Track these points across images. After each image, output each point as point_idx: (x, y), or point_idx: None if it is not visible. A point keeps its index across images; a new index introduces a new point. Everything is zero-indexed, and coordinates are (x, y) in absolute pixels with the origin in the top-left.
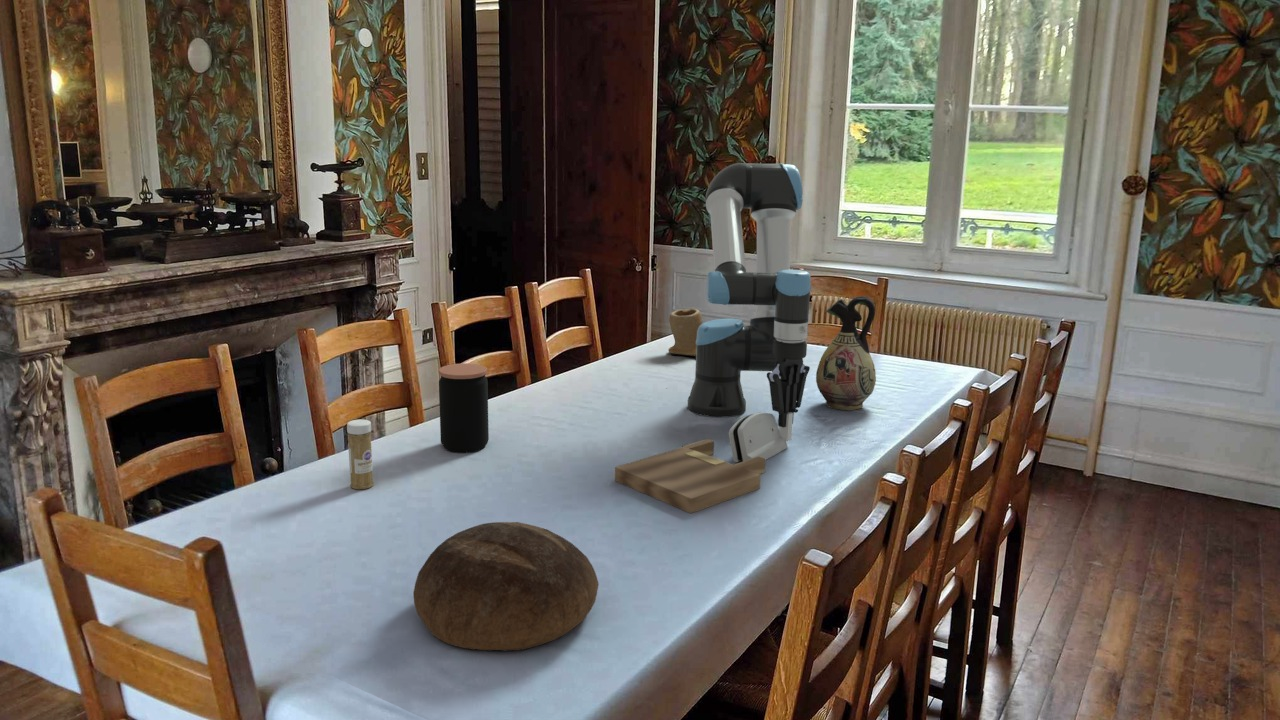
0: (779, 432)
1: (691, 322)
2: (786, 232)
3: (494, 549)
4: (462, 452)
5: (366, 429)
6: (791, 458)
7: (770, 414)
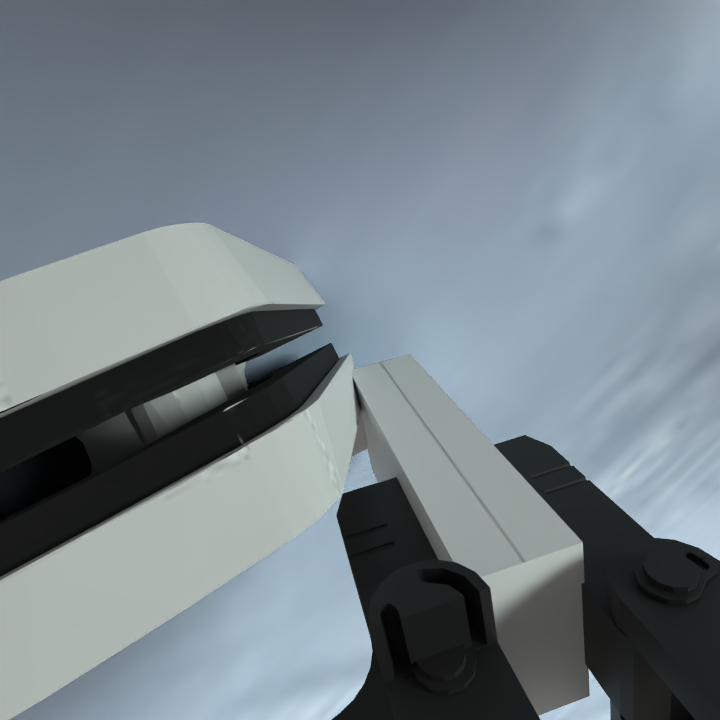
0: (367, 409)
1: None
2: None
3: None
4: None
5: None
6: (241, 619)
7: (239, 568)
